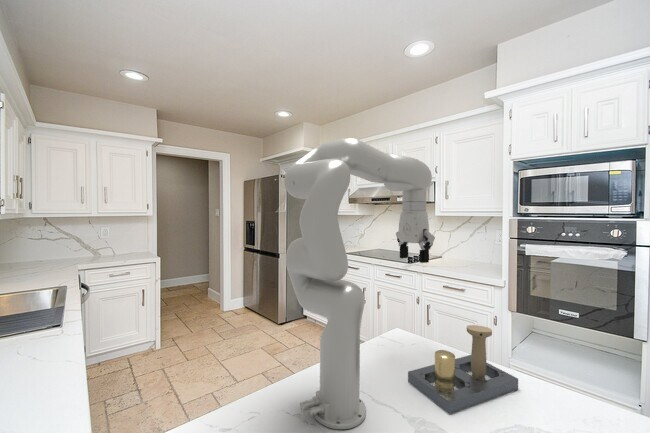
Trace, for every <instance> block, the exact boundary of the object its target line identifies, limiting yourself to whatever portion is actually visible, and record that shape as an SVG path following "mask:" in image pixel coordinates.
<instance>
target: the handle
mask: <svg viewBox="0 0 650 433" xmlns="http://www.w3.org/2000/svg"><path fill="white" fill-rule="evenodd" d="M466 332H467V333H468V334H469V335H470V336H471V337H472V341H471V352H470V353H471V354H470V355H471V371H470V372H471V376H473V377H474V378H477V379H483V380H486V378H485V377H486V375H485V374H486V362H487V348H486V347H487V343H486V341H487V340H486V339H487V338H490V337H491V336H492V335H493V329H491V328H490V327H488V326H484V325H478V324H477V325H475V324H472V325H471V324H469V325H466Z"/></svg>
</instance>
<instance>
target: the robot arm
mask: <svg viewBox="0 0 650 433" xmlns="http://www.w3.org/2000/svg"><path fill="white" fill-rule="evenodd" d="M351 175H352V176H355V177H357V178H360V179H362V180H365V181H368V182H371V183H377V184H383V185H384V187H385V188H386V189H387V190H389V191H391V192H402V198H401V199H402V205H401V206H402V208H401V209H402V211H401V212H400V216H399V219H398V221H399V222H398V230H397V232H395V236H396V238H397V239H396V241H397V242H398V246H399V258H400V259H408V258H409V244H418V245H419V248H420V249H419V263H420V264H423V263H425V264H427V263H429V262H430V250H431V249H432V247H433V245H434V241H435V238H436V237H435V235H433V234H432V233H431V232H430V226H429V225H430V223H429V216H428V212H427V189H428V187H430V186H431V183H432V179H433V176H432V172H431V168H430V167H429V166H428V165H427V164H426V163H424V162H423V161H421V160H419V159H417V158H415V157H411V156H406V155H400V154H394V153H390V152H384V151H381V150H379V149H377V147H373V146H371V145H370V144H367V143H366V142H364V141H362V140H360V139H359V138H358V139H357V138H355V137H354V138H353V137H346V138H345V137H344V138H340V139H336V140H332V141H326V142H322V143H321V144H319V145H318V146H316V147H315V148H313V149H312V150H310V151H309V152H307V153H306V154H305V155H304V156H302V157H301V158H299V159H298V160H296V161H295V162H293V164H291V165H290V166H289V167H288V169H287V170H286V172H285V174H284V178H283V179H284V180H283V182H284V187H285V190H286V192H287V193H288V194H289V195H290V196H292V197H293V198H295V199H300V200H305V201H304V204H303V205H302V209H301V210H300V214H299V229H300V233H301V237H298V238H296V239H295V240H292V241H291V243H290V244H289V245H288V247H287V250H286V253H285V265H286V269H287V273H288V276H289V278H290V282H291V285H292V288H293V291H294V294H295V297H296V299H297V302H298V303H299V305H300V306H301V308H302V309H304V311H307V312H309V313H311V314H315V315H318V316H320V317H323V318H326V319H327V322H326V324H325V327H324V328H323V329H322V332H321V334H320V338H319V390H317V391H315V396H313V397H312V399H308V400H304V401H300V402H299V403H300V404H299V406H300V410H301V412H305V411H309V415H310V416H314V418H315V419H316V420H317V422H319V423H320V424H321V425H323V426H324V427H327V428H330V429H333V430H349V429H353V428H355V427H357V426H359V425H361V423H363V421H364V420H365V418H366V415H367V413H366V412H367V408H366V404H365V402H364V401H363V400H362V399H361V398H360V386H361V385H360V383H361V382H360V379H361V377H360V375H361V374H360V373H361V371H360V370H361V366H360V364H361V361H360V360H361V359H360V358H361V356H360V355H361V345H360V344H361V329H362V328H361V327H362V320H363V313H364V310H365V303H366V302H365V301H366V300H365V298H366V297H365V294H364V291H363V290H362V289H361V287H360V286H359V285H357V284H355V283H353V282H351V281H348V280H345V279H343V278H345V276H346V275H347V273H348V271H349V261H348V255H347V251H346V248H345V244H344V240H343V236H342V233H341V229H340V224H339V217H338V216H339V210H340V206H341V203H342V200H343V199H344V196H345V195H346V192H347V191H348V189H349V187H350V183H351Z"/></svg>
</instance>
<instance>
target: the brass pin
mask: <svg viewBox="0 0 650 433" xmlns="http://www.w3.org/2000/svg"><path fill="white" fill-rule="evenodd" d="M455 359H456V355H455V353H453V352H452V351H448V350H446V349H445V350H444V349H440V350H436V351H435V352H434V364H435V382H434V386H435V387H436V388H438V389H439V390H444V391H449V392H451V391H455V390H456V389H455V388H456V387H455Z"/></svg>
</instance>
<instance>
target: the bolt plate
mask: <svg viewBox="0 0 650 433" xmlns="http://www.w3.org/2000/svg"><path fill="white" fill-rule="evenodd" d="M469 371H470V372H471V354H469V355H465V356H461V357H458V358H455V388H457V389H455V391H451V392H449V391H444V390H439V389H438V388H436V387H435V384H434V385H433V383H435V363H434V364H431V365H428V366H424V367H419V368H417V369H413V370H412V369H411V370H409V371H407V382H408V384H410V385H411V386H412V387H413V388H415V389H416V390H417V391H419V392H420V393H422V394H423V395H424V396H425V397H427V398H428V399H429V400H431V401H432V402H433V403H434V404H435V405H436V406H438V407H439V408H440V409H442V410H443V411H444V412H446V413H447V415H453V414H455V413H458V412H461V411H463V410H464V411H465V410H467V409H469V408H472V407H475V406H478V405H480V404H483V403H485V402H488V401H491V400H494V399H497V398H499V397H501V396H504V395H508V394H510V393H513V392H516V391H518V390H519V378H518V377H515V376H514V375H512V374H510V373H509V372H506V371H504V370H502V369H501V368H498V367H496V366H495V365H493V364H491V363H489V362H487V361H486V374H485V376H487V377H488V379H485V380H483V379H477V378H474V377H473V376H472V374H469V373H470V372H469ZM468 372H469V373H468Z"/></svg>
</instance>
